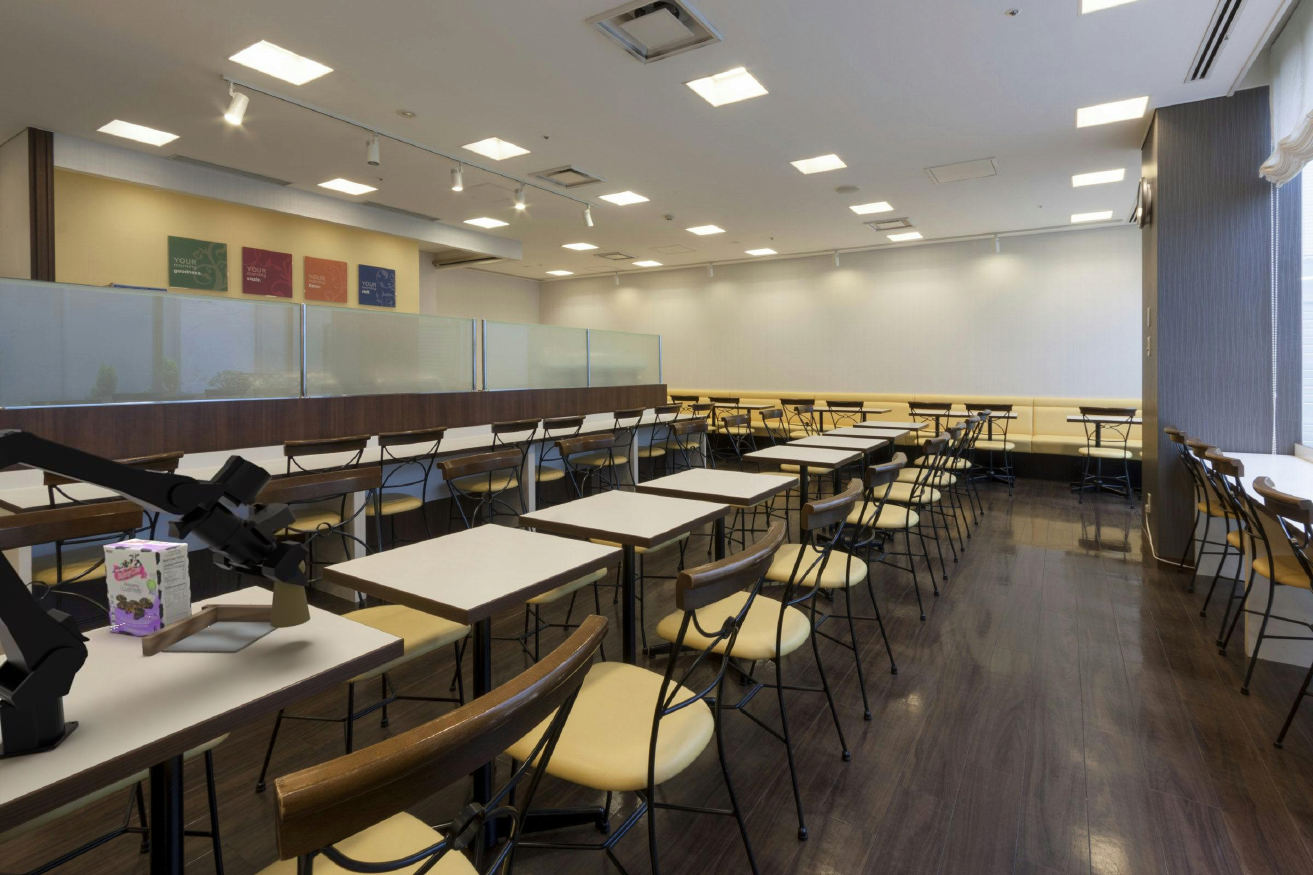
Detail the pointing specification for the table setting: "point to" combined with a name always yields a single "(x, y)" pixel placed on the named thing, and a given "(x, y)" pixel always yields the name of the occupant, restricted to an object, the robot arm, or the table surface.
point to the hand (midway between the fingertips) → (296, 581)
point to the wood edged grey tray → (212, 630)
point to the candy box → (147, 585)
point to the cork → (289, 604)
